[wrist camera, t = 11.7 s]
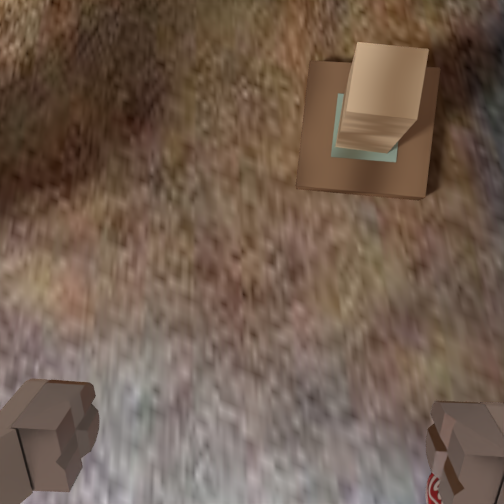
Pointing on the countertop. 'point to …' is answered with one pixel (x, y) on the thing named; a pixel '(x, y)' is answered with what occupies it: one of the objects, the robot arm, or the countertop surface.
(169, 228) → the countertop surface
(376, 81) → the pillar
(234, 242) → the countertop surface
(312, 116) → the slab
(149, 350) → the countertop surface
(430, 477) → the soda can
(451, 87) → the countertop surface
